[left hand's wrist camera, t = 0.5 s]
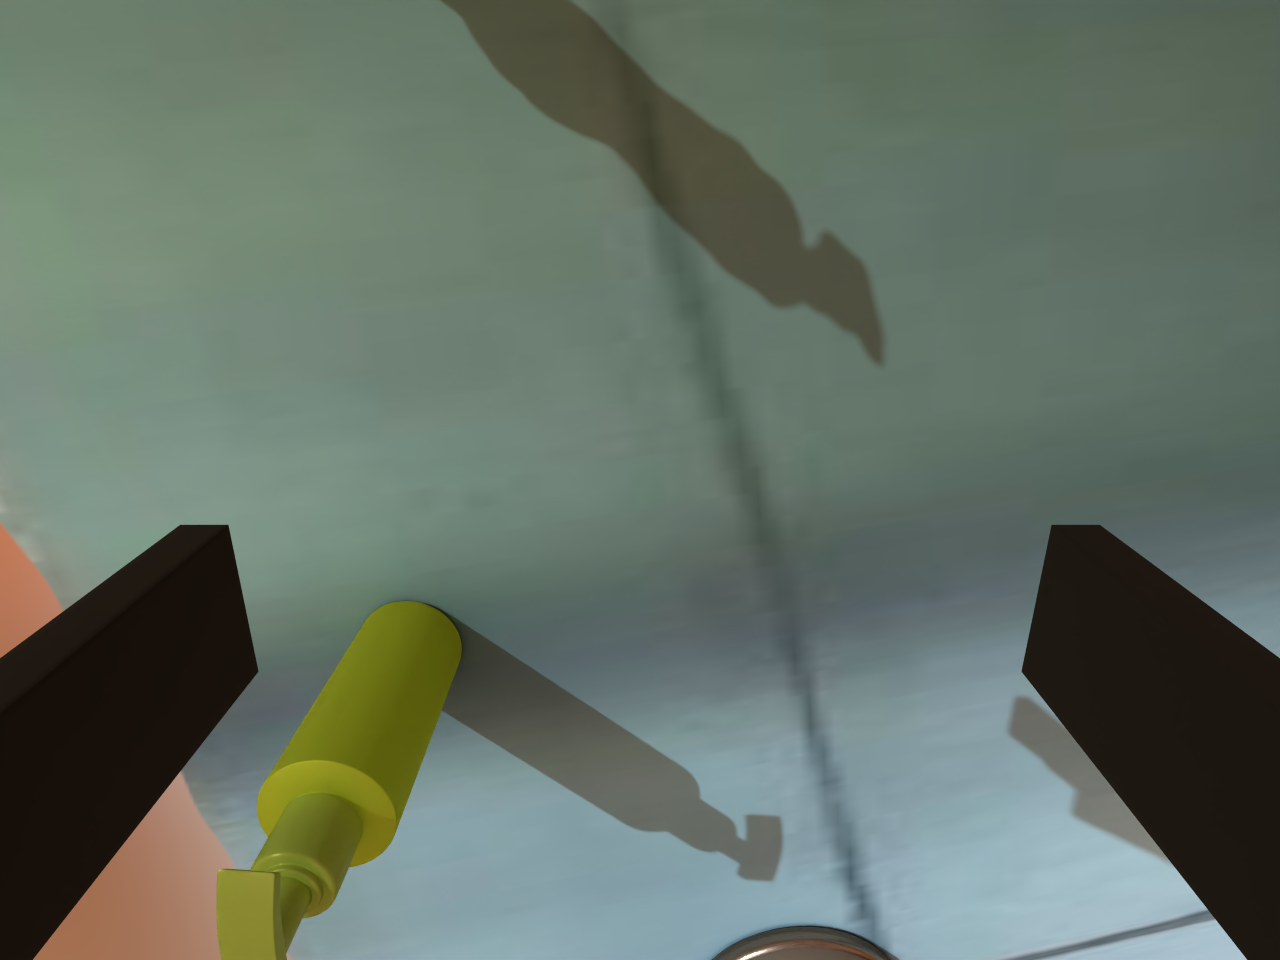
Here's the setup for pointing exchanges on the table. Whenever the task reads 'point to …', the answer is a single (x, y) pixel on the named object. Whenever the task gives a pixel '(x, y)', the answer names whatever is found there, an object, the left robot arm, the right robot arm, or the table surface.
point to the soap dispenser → (341, 778)
